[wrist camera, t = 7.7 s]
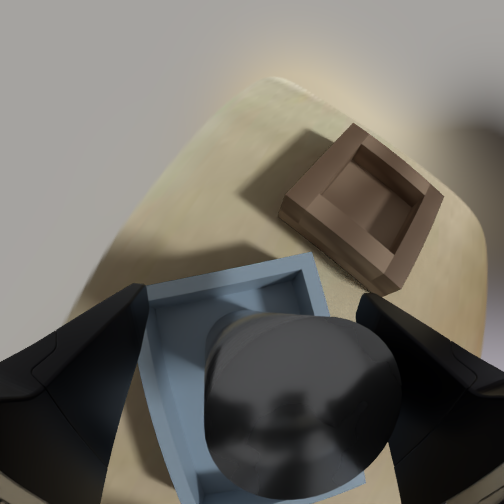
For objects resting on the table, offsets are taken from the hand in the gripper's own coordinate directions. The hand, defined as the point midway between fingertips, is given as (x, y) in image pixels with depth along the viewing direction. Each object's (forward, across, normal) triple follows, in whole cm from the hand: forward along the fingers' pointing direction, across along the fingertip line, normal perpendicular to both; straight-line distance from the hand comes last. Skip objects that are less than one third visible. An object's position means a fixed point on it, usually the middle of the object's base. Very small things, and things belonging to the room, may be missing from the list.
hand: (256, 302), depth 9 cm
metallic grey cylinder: (+4, 0, +6) cm, 8 cm away
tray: (+3, 0, +9) cm, 10 cm away
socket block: (+12, -8, 0) cm, 15 cm away
